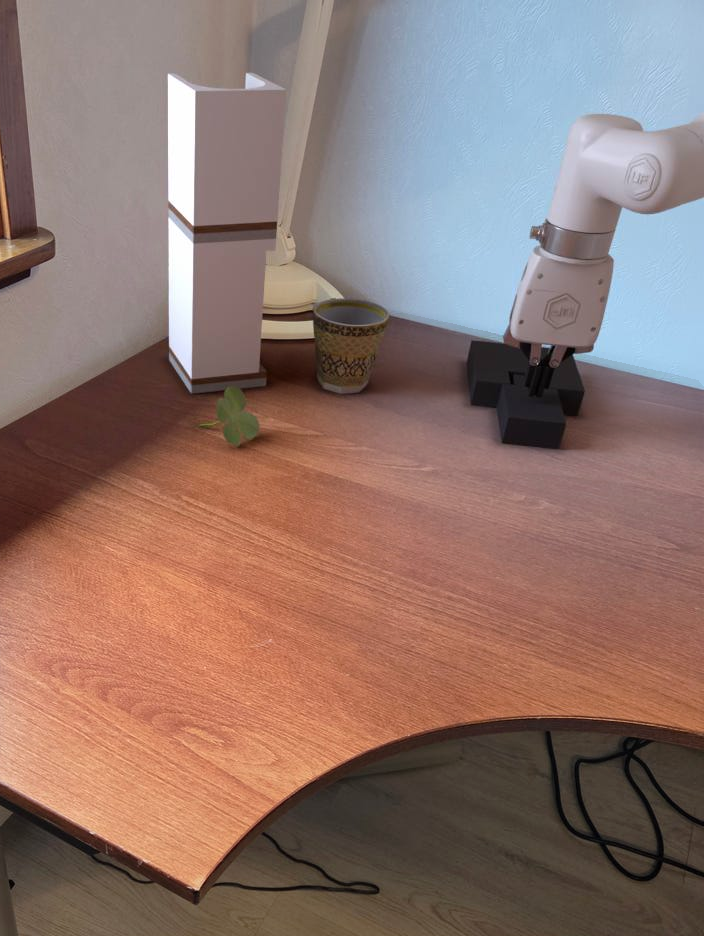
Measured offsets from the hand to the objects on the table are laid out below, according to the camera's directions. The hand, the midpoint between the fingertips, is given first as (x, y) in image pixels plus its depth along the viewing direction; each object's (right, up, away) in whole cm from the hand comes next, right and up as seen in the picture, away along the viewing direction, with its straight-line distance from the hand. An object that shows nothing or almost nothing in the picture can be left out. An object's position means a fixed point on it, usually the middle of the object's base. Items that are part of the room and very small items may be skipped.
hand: (533, 392), depth 114 cm
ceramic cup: (-23, +5, +12) cm, 27 cm away
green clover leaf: (-38, -6, -2) cm, 39 cm away
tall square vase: (-40, +6, +12) cm, 43 cm away
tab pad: (0, -3, +3) cm, 4 cm away
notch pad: (+2, +4, +11) cm, 12 cm away
